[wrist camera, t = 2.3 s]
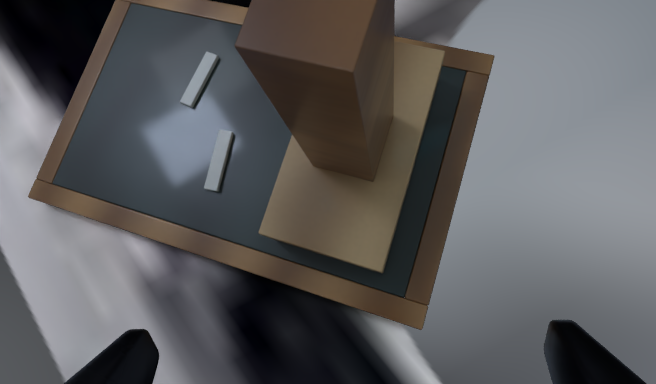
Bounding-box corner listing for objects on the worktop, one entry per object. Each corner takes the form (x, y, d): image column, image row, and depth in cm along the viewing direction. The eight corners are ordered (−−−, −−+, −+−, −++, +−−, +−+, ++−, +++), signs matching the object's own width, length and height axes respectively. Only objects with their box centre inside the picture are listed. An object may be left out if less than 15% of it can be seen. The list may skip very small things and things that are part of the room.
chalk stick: (234, 133, 24) (232, 131, 23) (218, 192, 23) (216, 190, 23) (221, 131, 24) (219, 129, 24) (205, 189, 23) (203, 188, 23)
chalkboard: (489, 66, 24) (494, 55, 22) (420, 328, 21) (422, 330, 20) (133, -5, 29) (122, -17, 27) (43, 201, 26) (26, 197, 25)
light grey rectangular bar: (219, 57, 25) (217, 54, 25) (192, 108, 25) (190, 106, 24) (208, 53, 25) (206, 51, 25) (181, 103, 25) (179, 101, 24)
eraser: (439, 78, 23) (498, -179, 10) (383, 274, 21) (370, 257, 8) (335, 56, 24) (273, -197, 11) (274, 239, 22) (118, 179, 10)
